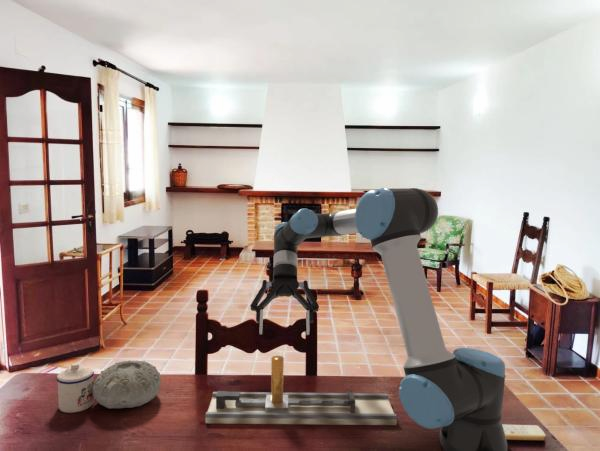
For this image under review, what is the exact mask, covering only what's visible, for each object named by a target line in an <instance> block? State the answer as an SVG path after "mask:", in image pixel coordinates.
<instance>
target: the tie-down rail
mask: <svg viewBox="0 0 600 451" xmlns="http://www.w3.org/2000/svg"><path fill="white" fill-rule="evenodd" d="M266 394H267V395H271V391H270V392H269V391H268V392H265V391H264V392H263V391H262V392H261V391H260V392H259V391H252V392H251V391H226V390H217V391H213V392H212V397H211V400H210V403H209V406H208V409H207V411H206V412H205V424H223V425H224V424H226V425H227V424H228V425H229V424H233V425H235V424H236V425H238V424H241V425H242V424H247V425H250V424H252V425H332V426H333V425H334V426H335V425H340V426H341V425H342V426H343V425H344V426H345V425H351V426H354V425H355V426H356V425H357V426H359V425H360V426H361V425H362V426H364V425H366V426H397V424H398V422H397V420H398V419H397V417H398V416H397V414H396V413H395V412H394V410H393V407H392V405H391V402H390V399H389V393H364V392H363V393H361V392H358V393H355V392H353V390H348V391H347V393H346V392H343V393H341V392H338V393H337V392H283V395H288V400H299V399H310V400H350V406H311V405H310V406H299V405H288V412H265V407H235V402H236V400H239V399H266Z"/></svg>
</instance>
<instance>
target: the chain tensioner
mask: <svg viewBox="0 0 600 451" xmlns="http://www.w3.org/2000/svg"><path fill="white" fill-rule="evenodd" d="M284 359H285V358H284V356H282V355H273V356H272V357H271V368H270V369H271V371H270V372H271V375H270V376H271V378H270V384H271V385H270V392H271V395H267V394H266V399H239V400H236V402H235V407H265V412H288V405H299V406H310V405H311V406H350V400H310V399H299V400H288V395H283V393H284V367H285V366H284V363H285V362H284Z"/></svg>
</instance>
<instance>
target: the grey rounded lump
mask: <svg viewBox="0 0 600 451" xmlns="http://www.w3.org/2000/svg"><path fill="white" fill-rule="evenodd" d="M161 386H162V378H161V372H159V370H158V369H157V367H156V366H155V365H153V364H151V363H149V362H147V361H145V360H123V361H119V362H115V363H114V364H112V365H110V366H108V367H107V368H105V369H104V370H101V371H100V373H99V375H98V376H97V377H96V378H95V381H93V388H92V392H93V396H94V400H96V402H97V403H98V404H100V406H103V407H105V408H106V409H109V410H110V409H117V410H118V409H125V408H127V409H129V408H130V409H132V408H135V407H136V408H137V407H142V406H143V405H145V404H147V403H149V402H150V401H152V400H153V399H155V397H156V396H157V394H158V393H159V391H160V390H161Z"/></svg>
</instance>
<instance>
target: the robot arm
mask: <svg viewBox="0 0 600 451" xmlns="http://www.w3.org/2000/svg"><path fill="white" fill-rule="evenodd" d="M438 206H439V205H438V204H437V201H436V199H435V198H434V196H433V195H432V194H430V193H429V192H428V191H426V190H424V189H421V188H417V187H410V188H409V187H408V188H404V187H403V188H387V187H381V188H378V189H375V188H374V189H371V190H368V191H367V192H365V193H364V194H363V195H362V196H361V197H360V199H359V201H358V204H357V206H356V208H353V209H351V208H350V209H347V210H341V211H335V212H328V213H326V212H324V213H315V211H313V210H311V209H308V208H300V209H299V210H298V211H297V212H295V213H294V214H293V215H292V216H291V217H290V219H289V220H288V221H285V222H284V221H283V222H281V223H278V224H277V225H276V226H275V228H274V233H273V266H272V267H273V269H272V270H273V272H272V281H267V279H263V280H262V284H261V287H260V289H259V290H258V292H257V293H256V295H255V297H254V299H253V300H252V302H251V304H250V310H251V311H252V312H255V321H256V323H259V328H258V329H259V335H263V329H264V328H263V326H264V325H263V323H264V309H265V308H266V307H267V306H268V305H269V304H270V303H271V302H272V301H273V300H274V299H275V298H277V296H278V297H282V298H283V297H288V298H289V297H293V298H294V299H296V300H297V302H299V304H301V306H302V307H303V308H304V309H305V310H306V316H305V318H306V319H305V321H306V322H305V325H306V331H305V332H306V336H309V335H310V330H311V329H310V324H313V323H314V313H315V312H319V310H320V309H319V308H320V306H319V303H318V302H317V300H316V298H315V297H314V295H313V293H312V291H311V289H310V288H309V283H308V282H309V281H308V280H307V279H306V280H304V281H302V282H299V281H298V246H299V245H301V244H302V242H304V241H305V240H307V239H313V238H323V237H324V238H325V237H342V236H346V235H353V234H359V235H361V236H362V237H363V238H364V239H366V240H369V241H370V244H371V247H372V250H373V251H374V252H376V253H378V254H379V255H380V257H381V262H382V264H383V268H384V272H385V276H386V280H387V283H388V287H389V291H390V294H391V295H390V296H391V298H392V303H393V306H394V309H395V314H396V317H397V321H398V326H399V329H400V333H401V336H402V340H403V343H404V347H405V351H406V356H407V357H406V360H405V362H404V363H403V365H402V366H403V372H404V374H405V375H404V377H403V379H402V380H401V381H400V386H399V387H398V395H399V400H400V402H401V405H402V408H403V409H404V411H405V413H406V414H407V415H408V417H409V418H410V419H411V420H413V421H414V422H415V423H416V424H417V425H419V426H420V427H422V428H424V429H430V430H433V429H439V428H440V433H439V443H440V445H441V447H442V448H443V450H444V451H508V441H507V438H506V433H505V430H504V426H503V422H502V413H503V402H504V401H503V400H504V392H505V381H506V377H507V376H506V364H505V362H504V361H503V359H501V358H500V357H499V356H497V355H495V354H493V353H490V352H488V351H486V350H485V351H484V350H482V349H476V348H470V347H457V348H455V349H454V350H453V352H450V351H449V350H448V349H447V348H446V345H445V341H444V338H443V334H442V331H441V328H440V323H439V320H438V316H437V313H436V310H435V306H434V302H433V299H432V294H431V292H430V287H429V284H428V281H427V277H426V274H425V270H424V267H423V264H422V260H421V256H420V252H419V250H418V244H419V242H420V240H421V239H422V236H421V234H424V233H426V232H427V231H429V230H430V229H432V227H433V226H434V225H436V224H435V223H436V222H437V219H438V216H439V207H438ZM270 287H271V288H272V290H271V291H270V293H269V294H268V295H267V296H266V297H264V299H263V296H264V295H265V293H266V291H267V290H269V288H270ZM299 288H301V290H303V292H304V294H305V296H306V298H307V300H308V301H309V302H310V303H309V302H308V301H307V300H306V299H305V297H304V296H303V295H302V294H301V293H300V291H299V290H298V289H299ZM262 299H263V300H262ZM261 300H262V301H261ZM260 301H261V302H260Z"/></svg>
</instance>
